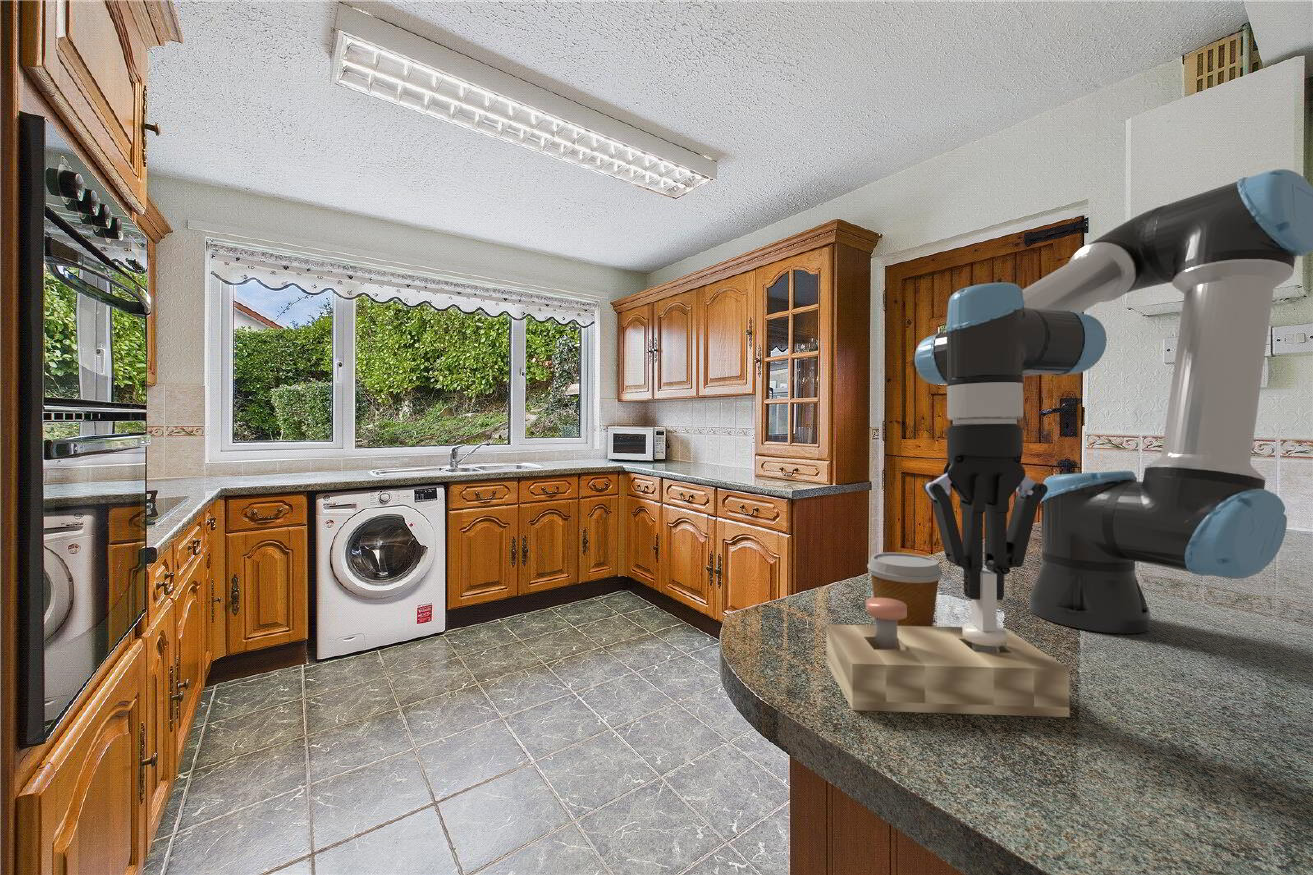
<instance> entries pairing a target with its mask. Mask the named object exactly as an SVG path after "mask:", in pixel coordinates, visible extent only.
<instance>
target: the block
mask: <svg viewBox="0 0 1313 875" xmlns="http://www.w3.org/2000/svg"><path fill="white" fill-rule="evenodd" d="M825 627H826V631H825V632H826V634H825V635H826V643H825V644H826V650H825V651H826V652H825V653H826V654H825V656H826V665H827V667H828V669H829V671H830V672H831V674H832V676H833V677H834V679H835V681H836V683H837V685H838V687H839V688H840V690H841V693H842V694H843V696H844V697H845V699H846V701H847V702H848V705H849V706H850V708H851V710H852V711H862V712H863V711H865V712H866V711H867V712H893V713H896V712H898V713H927V714H928V713H929V714H955V715H956V714H960V715H989V716H991V715H993V716H1022V717H1023V716H1024V717H1025V716H1027V717H1028V716H1029V717H1049V718H1050V717H1054V718H1065V717H1066V718H1070V668H1068V667H1067V666H1065V665H1064V664H1062V663H1060V662H1059V661H1058V660H1056V659H1054V658H1053V657H1052V656H1050V655H1048V654H1046V653H1045V652H1043V651H1042V650H1040V649H1038V648H1037V647H1036V646H1034V645H1033V644H1031V643H1029V642H1028V641H1026V640H1025V639H1024V638H1021V637H1020V636H1018V635H1017V634H1016V633H1014V632H1012V631H1011V630H1009V629H1008V628H1006V627H1002V628H1003V629H1005V630H1006V631H1007V644H1006V645H1004V646H998V647H996V653H995V652H974V651H973V650H972V642H970V641H967V640H966V639H964V638H963V636H962V626H933V625H932V626H897V648H895V649H884V648H881V647H878V646H876V645H875V624H874V625H873V624H872V625H871V624H866V625H865V624H829V623H828V624H826V626H825Z"/></svg>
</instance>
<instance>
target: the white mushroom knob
mask: <svg viewBox="0 0 1313 875" xmlns="http://www.w3.org/2000/svg"><path fill="white" fill-rule="evenodd" d="M961 627H962V636H963V638H964V639H966V640H967V641H970V642H972V650H973V651H974V652H995V653H996V647H998V646H1004V645H1006V644H1007V631H1006V630H1005V629H1003V628H1004V627H1001V626H998V625H997V631H982V630H981V629H979V628H978V627H976V626H975V625H974V624H972V623H971V621H969V622H965V623H963V624H962V625H961Z"/></svg>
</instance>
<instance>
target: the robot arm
mask: <svg viewBox="0 0 1313 875" xmlns="http://www.w3.org/2000/svg"><path fill="white" fill-rule="evenodd" d="M1310 253H1313V186H1312V185H1311V184H1310V183H1309V181H1308V180H1307V179H1306V178H1305V177H1304V176H1302V175H1301V174H1299V173H1298V172H1296V171H1294V170H1291V169H1290V170H1289V169H1282V168H1281V169H1279V168H1278V169H1274V170H1270V171H1267V172H1263V173H1260V174H1255V175H1252V176H1249V177H1248V176H1246V177H1242V178H1239V179H1238V180H1237V181H1234V182H1232V183H1229V184H1226V185H1223V186H1219V187H1216V188H1214V189H1210V190H1207V191H1204V192H1202V193H1198V194H1195V195H1192V196H1188V197H1186V198H1183V199H1180V200H1177V201H1174V202H1171V203H1169V204H1166V205H1165V204H1164V205H1161V206H1158V207H1154V208H1152V209H1150V210H1148V211H1146V212H1143V213H1141V214H1138V215H1137V216H1134V217H1133V218H1131V219H1129V220H1127V221H1125V222H1124V223H1122V224H1120V225H1118V226H1117V227H1115V228H1113V229H1111V230H1110V231H1108V232H1106V233H1105V234H1103V235H1102V236H1100V237H1098V238H1096V239H1095V240H1093V241H1091V242H1090V243H1088V244H1086V245H1085V246H1084V245H1083V247H1081V248H1079V249H1078V250H1077V251H1076V252H1074V254H1073V255H1072V256H1071V257H1070V259H1069V261H1068V263H1066V264H1065V265H1062V267H1061V266H1060V268H1058V269H1056V270H1054V271H1053V272H1051V273H1049V274H1048V275H1046V276H1044V277H1042V278H1041V279H1038V280H1037V281H1036V282H1034V283H1032V284H1030V285H1028V286H1027V287H1025V288H1024V289H1022V287H1021V286H1019V285H1018V284H1016V283H1013V282H989V283H983V284H982V283H981V284H976V285H971V286H968V287H964V288H961V289H960V290H957V291H955V292H954V293H953V294H951V296H950V297H949V299H948V305H947V314H946V315H947V316H946V326H945V332H944V331H943V332H942V331H940V332H937V333H936V334H933V335H929V336H927V337H925V338H924V339H923V340H922V341H921V342H919V343H918V345H917V348H916V350H915V353H914V366H915V368H916V371H917V373H918V375H919V376H920V378H921V379H923V380H924V382H927V383H928V384H932V385H947V386H946V418H947V419H948V420H949V421H952V424H950V425H948V427H946V456H947V462H946V464H945V466H944V468H943V472H942V473H943V474H942V475H941V476H939V477H937V478H936V479H935V480H933V481H926V482H924V483H923V485H922V489H923V491H924V492H925V493H926V495H927V497H928V498H929V499H930V501H931V503H932V507H933V511H934V512H933V513H934V514H935V519H936V524H937V527H938V531H939V534H940V535H939V536H940V540H941V544H942V547H943V551H944V555H945V559H946V560H947V561H948V562H950V563H951V564H953V565H955V566H957V567H958V568H962V569H963V593H964V596H965V597H966V598H968V599H970V600H971V601H970V609H971V610H970V622H971V623H972V624H974V625H975V626H976V627H978V628H979V629H981V630H982V631H997V626H998V624H997V623H998V622H997V621H998V619H997V616H998V614H997V613H998V611H997V610H998V609H997V608H998V606H997V603H998V602H997V601H1003V599H1004V598H1005V597H1004V596H1005V576H1006V575H1008V574H1010V572H1011V569H1013V568H1021V567H1022V566H1023V565H1024V561H1025V558H1026V555H1027V554H1026V553H1027V550H1028V546H1029V542H1030V537H1031V533H1032V531H1033V526H1034V522H1035V519H1036V514H1037V510H1038V507H1039V505H1040V504H1041V565H1040V568H1039V570H1038V573H1037V575H1036V578H1035V580H1034V583H1033V585H1032V588H1031V591H1030V593H1029V596H1028V608H1029V611H1030V612H1031V613H1033V615H1036V616H1037V617H1039V618H1042V619H1044V620H1047V621H1049V622H1052V623H1056V624H1058V625H1063V626H1066V627H1069V628H1074V629H1075V628H1076V629H1079V630H1084V631H1085V630H1086V631H1091V632H1098V633H1107V634H1110V633H1111V634H1123V635H1124V634H1125V635H1126V634H1127V635H1128V634H1130V635H1132V634H1141V633H1145V632H1148V631H1150V630H1151V625H1152V624H1151V622H1152V620H1151V618H1152V617H1151V611H1150V609H1149V607H1148V605H1147V601H1146V599H1145V596H1144V593H1143V591H1142V588H1141V586H1140V584H1139V581H1138V578H1137V575H1136V563H1137V562H1138V563H1143V564H1149V565H1153V566H1158V567H1163V568H1169V569H1173V570H1178V571H1182V572H1183V571H1184V572H1188V573H1191V574H1193V575H1200V576H1204V577H1208V576H1209V577H1210V576H1211V577H1217V578H1225V579H1230V580H1231V579H1232V580H1239V579H1246V578H1250V577H1253V576H1256V575H1257V574H1259V573H1260V572H1262V571H1263V570H1264V569H1265V568H1266V567H1268V566H1269V565H1270V564H1271V563H1272V562H1273V560H1274V559H1275V557H1276V556H1277V555H1278V553H1279V551H1280V549H1281V547H1282V544H1283V543H1284V539H1285V536H1286V531H1287V526H1288V519H1287V518H1288V516H1287V515H1286V514H1285V511H1286V507H1285V504H1284V501H1282V499H1281V498H1280V497H1279V496H1278V495H1277V494H1276V493H1274V492H1270V491H1269V490H1268V489H1265V485H1266V478H1265V476H1263V475H1262V474H1261V473H1260V472H1259V471H1257V470H1256V468H1254V467H1253V466H1252V464H1251V462H1252V461H1251V459H1252V453H1253V445H1254V440H1255V439H1254V438H1255V431H1256V424H1257V415H1258V410H1259V401H1260V394H1261V387H1262V386H1261V385H1262V378H1263V371H1264V365H1265V357H1266V356H1265V355H1266V348H1267V341H1268V333H1269V328H1270V327H1269V326H1270V320H1271V313H1272V312H1271V311H1272V304H1273V298H1274V292H1275V291H1274V290H1275V289H1276V288H1277V287H1279V286H1280V285H1281V284H1283V283H1284V282H1287V281H1288V280H1290V278H1292V276H1293V274H1294V270H1295V264H1296V258H1297V257H1302V256H1307V255H1308V254H1310ZM1169 283H1170V284H1172V286H1173V287H1174V288H1175V289H1177V290H1178V291H1179V292H1181V293H1182V294H1183V301H1182V302H1183V303H1182V308H1181V309H1182V310H1181V316H1180V323H1179V328H1178V329H1179V330H1178V338H1177V344H1176V351H1175V358H1174V359H1175V360H1174V364H1173V372H1172V378H1171V385H1170V386H1171V387H1170V393H1169V399H1168V407H1167V413H1166V418H1165V427H1164V433H1163V439H1162V440H1163V442H1162V448H1161V455H1160V457H1159V458H1158V459H1155V460H1153V461H1152V462H1150V463H1148V464H1147V465H1145V467H1144V472H1143V479H1142V481H1138V478H1137V476H1136V473H1135V472H1134V471H1132V470H1119V471H1117V470H1116V471H1101V472H1099V471H1098V472H1081V473H1080V472H1079V473H1078V472H1077V473H1063V474H1061V473H1060V474H1053V475H1049V476H1048V477H1046V478H1045V479H1044V481H1043V482H1042V483H1040V482H1039V483H1038V482H1036V480H1035V481H1034V480H1033V479H1031V478H1030V477H1028V476H1027V475H1026V470H1025V467H1024V466H1023V464H1022V456H1023V455H1024V454H1023V453H1024V427H1023V426H1022V424H1018V421H1017V420H1021V419H1023V417H1024V377H1028V376H1038V375H1039V376H1040V375H1054V376H1056V377H1057V376H1063V375H1064V376H1066V375H1075V374H1082V373H1084V372H1086V371H1088V370H1090V369H1092V368H1093V367H1094V366H1095V365H1096V364H1097V363H1098V362H1099V361H1100V360H1101V358H1102V357H1103V355H1104V353H1105V351H1106V347H1107V340H1108V337H1107V333H1106V329H1105V327H1104V326H1103V324H1102V322H1100V320H1099V319H1097V318H1096V317H1094V316H1092V315H1091V314H1090V315H1089V314H1087V313H1084V312H1085V311H1087V310H1089V309H1090V308H1092V307H1093V306H1095V305H1096V304H1099V303H1105V302H1107V303H1108V302H1111V301H1114V300H1117V299H1119V298H1120V297H1122V296H1124V295H1125V294H1128V293H1131V292H1135V291H1138V290H1142V289H1146V288H1150V287H1155V286H1159V285H1160V286H1161V285H1165V284H1169ZM950 486H951V487H950ZM951 489H953V491H954V492H955V493H956V494H957V497H959V508H960V509H961V510H960V511H961V533H960V531H959V527H958V526H959V525H958V523H957V518H956V515H955V510H954V506H953V503H952V501H951V499H950V495H951ZM1015 492H1016V493H1017V495H1016V497H1015V499H1014V502H1013V507H1012V510H1011V513H1010V518H1009V521H1008V522H1007V516H1008V515H1007V514H1008V513H1009V511H1010V498H1011V497H1012V496H1013V494H1014V493H1015ZM1007 524H1008V525H1007ZM983 554H984V556H983ZM983 558H984V559H983ZM983 563H984V564H983ZM983 565H985V567H986V568H985V567H984V566H983Z"/></svg>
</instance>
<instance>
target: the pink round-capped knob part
mask: <svg viewBox="0 0 1313 875" xmlns="http://www.w3.org/2000/svg"><path fill="white" fill-rule="evenodd" d="M865 612H866V614H867V615H868V616H871V617H873V618H874V625H875V645H876V646H878V647H881V648H884V649H895V648H897V620H900V619H904V618H906V617H907V605H906V604H905V603H904V602H902V601H899V600H895V599H890V598H874V597H871V598H867V599H865Z"/></svg>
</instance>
